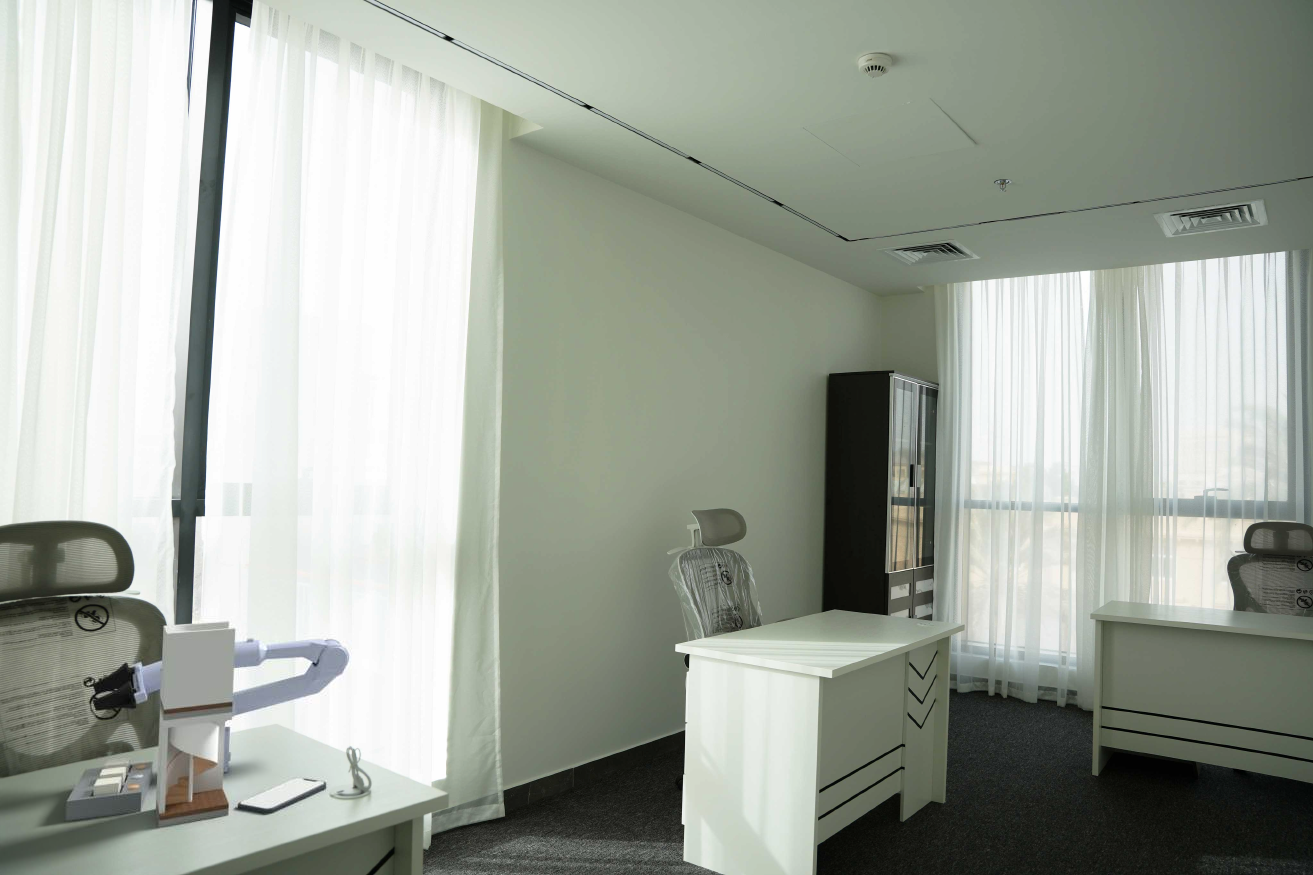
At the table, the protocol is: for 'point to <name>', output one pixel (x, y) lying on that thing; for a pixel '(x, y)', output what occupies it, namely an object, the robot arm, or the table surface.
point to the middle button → (114, 773)
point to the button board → (127, 801)
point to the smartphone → (282, 796)
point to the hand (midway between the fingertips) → (94, 697)
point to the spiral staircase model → (194, 721)
